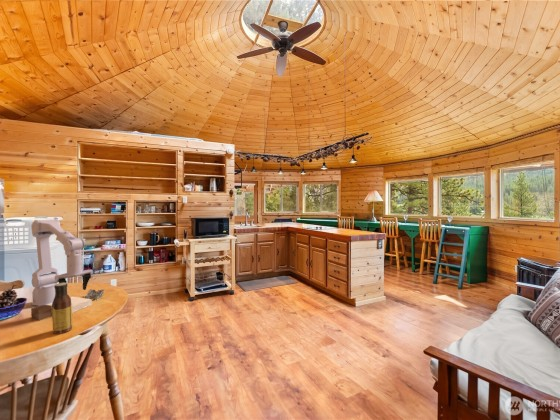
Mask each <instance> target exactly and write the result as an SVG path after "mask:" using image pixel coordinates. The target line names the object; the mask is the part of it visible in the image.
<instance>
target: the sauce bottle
mask: <svg viewBox="0 0 560 420" xmlns="http://www.w3.org/2000/svg"><path fill="white" fill-rule="evenodd" d="M54 288H55V298H54V300H53V303H52V316H51V321H52V331H53V334H57V335H60V334H61V335H62V334H65V333H67V332H69V331H71V330H72V328H73V313H72V304H71V298H70V297H71V296H70V295H69V294H68V283H59V282H58V283H57V284H56V285H55V286H54Z"/></svg>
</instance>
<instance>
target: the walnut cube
mask: <svg viewBox="0 0 560 420" xmlns="http://www.w3.org/2000/svg"><path fill="white" fill-rule="evenodd" d="M30 310H31V312H30V314H31V315H30V317H31V318H30V319H31V320H34V321H39V322H40V321H42V320H44V319H47V318H50V317H52V309H51V305H41V306H35V307H32V308H31V309H30Z"/></svg>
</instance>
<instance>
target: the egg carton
mask: <svg viewBox="0 0 560 420" xmlns="http://www.w3.org/2000/svg"><path fill="white" fill-rule="evenodd" d="M103 293H104V294H105V289H98V290H97V291H96V289H92V288H91V289H89V290H88V292H87V293H86V294H85V297H84V298H86V299H98V300H100V299H99V298H101V299H102V297H103V295H102V294H103ZM101 296H102V297H101Z"/></svg>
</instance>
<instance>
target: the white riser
mask: <svg viewBox="0 0 560 420" xmlns="http://www.w3.org/2000/svg"><path fill="white" fill-rule="evenodd" d="M70 298H71V304H72V314H73V313H75V312H78V311H80V310H83V309H85V308H88V307H90V306H92V305H93V302H92V301H93V300H92V299H86V298H85V297H79V296H70ZM48 305H51V309H52V303H51V304H48Z"/></svg>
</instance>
